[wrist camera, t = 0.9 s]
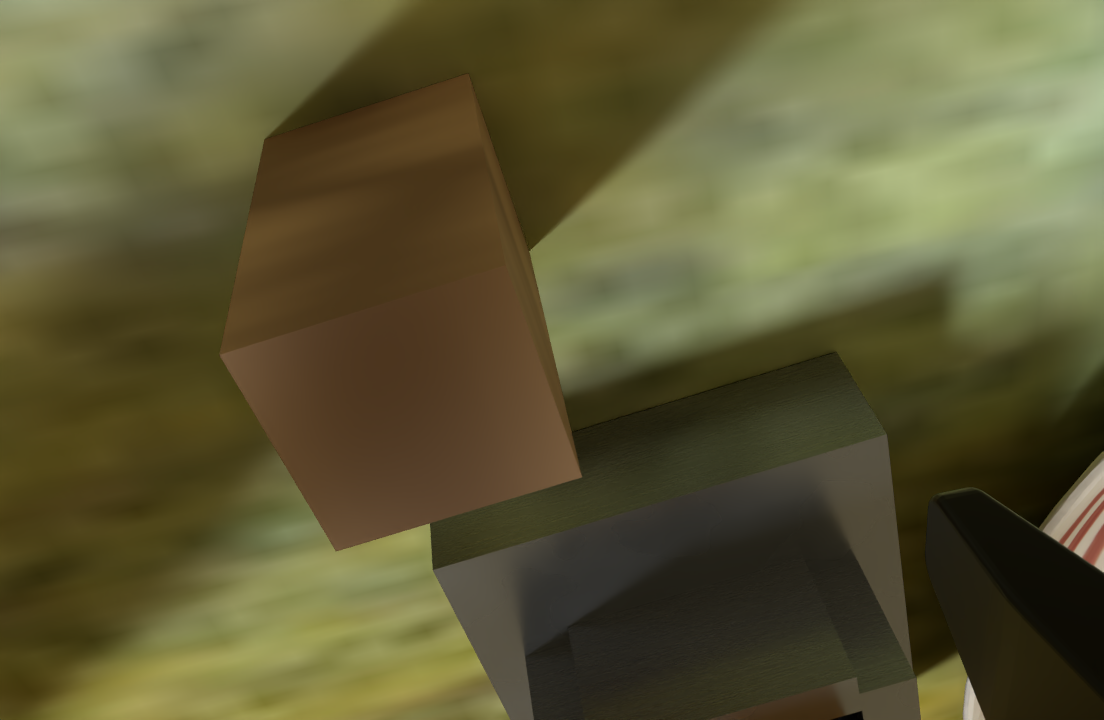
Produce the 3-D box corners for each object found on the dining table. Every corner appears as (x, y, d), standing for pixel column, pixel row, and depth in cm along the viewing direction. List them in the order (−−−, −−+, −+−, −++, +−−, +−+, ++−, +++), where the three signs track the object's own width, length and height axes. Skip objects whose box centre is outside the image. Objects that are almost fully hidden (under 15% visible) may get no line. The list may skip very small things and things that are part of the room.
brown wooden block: (346, 308, 22) (335, 551, 16) (264, 139, 20) (219, 354, 14) (528, 251, 22) (581, 477, 16) (468, 73, 19) (506, 264, 14)
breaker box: (576, 784, 33) (613, 997, 28) (427, 476, 25) (440, 699, 20) (884, 696, 33) (978, 897, 28) (836, 351, 24) (957, 549, 19)
